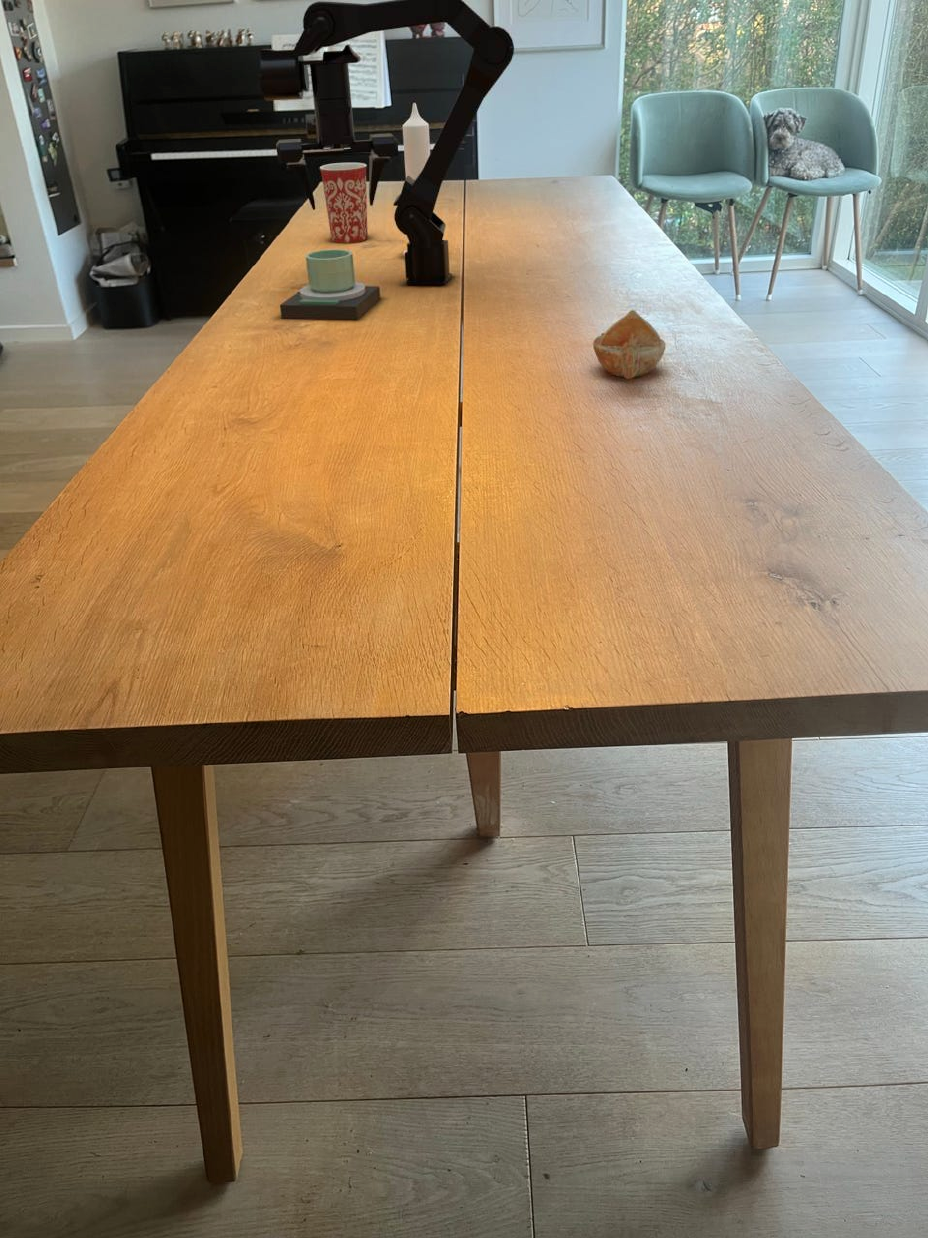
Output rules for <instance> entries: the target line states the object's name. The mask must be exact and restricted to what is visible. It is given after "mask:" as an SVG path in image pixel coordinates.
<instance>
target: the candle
mask: <svg viewBox="0 0 928 1238" xmlns="http://www.w3.org/2000/svg"><path fill="white" fill-rule="evenodd" d="M402 139H403V153H404V156H403V157H404V168H405V169H404V170H405V171H404V172H405V179H406V178H407V176H408V175H409V176H410V177H411V178H412V179H413V180H414V181H415V179H416V178H417V177H418V175H419V174H420V172H421V171H422V170H423V168H424V166H425V164H426V162H427V160H428V158H429V156H430V154H431V145H430V144H431V143H430V142H431V141H430V125H429V123H428V122H427V121H426V120H424V119H423V118H422V117H421V115H420V114H419V110H418V107H417V103H416V102H413V103H412V108H411V114H410V117H409V118H408V119H407V120H406V121H405V122H404V123H403V124H402ZM406 252H407V249H406V250H404V251H403V258H405V256H404V254H405V253H406Z"/></svg>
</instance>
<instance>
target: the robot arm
mask: <svg viewBox="0 0 928 1238" xmlns="http://www.w3.org/2000/svg"><path fill="white" fill-rule="evenodd" d="M441 23H444V24H447V25H448V26H449V27H450V28H451V29H452V30H453V31H455V33H457V34H458V36H460V37H461V38H462V39H463V40H464V41H465V42H466V43H467V44H468V45H469V46H470V47H471V48H472V49H473V52H472V55H471V58H470V61H469V64H468V69H467V71H466V74H465V78H464V81H463V82H464V83H463V85H462V87H461V89H460V91H459V93H458V95H457V97H456V100H455V101H454V104H453V106H452V108H451V110H450V112H449V114H448V116H447V118H446V120H445V122H444V125H443V127H442V129H441V131H440V133H439V135H438V137H437V139H436V141H435V143H434V145H433V148H432V150H430V156H429V158H428V160H427V162H426V164H425V166H424V168H423V170H422V171H421V172H420V174H419V175H418V177H417V178H416V179H415V181H414V180H413V179H412V178H411V177H410V176H409V175H408V176H407V178H406V177H405V180H404V182H403V185H402V188H401V192H400V193H399V194H398V196H396V198H395V200H394V202H393V206H394V207H396V208H395V211H394V214H393V216H394V217H393V219H394V222H395V225H396V228H397V229H398V231H400V232H401V234H403V235H405V236H406V237H407V240H408V242H407V243H406V250H407V252H406V253H405V254H404V253H403V257H404V256H405V257H404V271H405V278H406V282H405V284H406V285H411V286H412V285H414V286H443V285H446V284H447V283H448V282H449V281H450V279H452V278H453V273H451V272H450V254H449V240H448V239H443V238H444V235H445V230H446V225H447V224H446V222H444V221H443V220H442V219H441V218H440V217H439V216H438V215H437V214H436V213H435V212H434V211H435V207H436V203H437V200H438V197H439V194H440V190H441V187H442V184H443V182H444V180H445V177H446V176H447V173H448V172H449V169H450V167H451V165H452V164H453V162H454V159H455V157H456V156H457V154H458V151H459V149H460V147H461V145H462V143H463V141H464V139H465V138H466V135H467V133H468V131H469V129H470V127H471V125H472V124H473V121H474V119H475V118H476V115H477V113H478V111H479V109H480V107H481V105H482V103H483V101H484V99H485V98H486V97H487V95H488V94H489V92H490V91H491V90H492V88H493V87H494V86H495V85H496V83H497V82H498V81H499V79H500V77H501V76H502V75H503V73H504V72H505V70H506V69H507V68H508V66H509V65H510V64H511V62H512V60H513V57H514V54H515V45H514V44H515V43H514V41H513V38H512V36H511V35H510V32H509V31H507V29H505V28H503V27H501V26H499V25H492V26H491V25H490V24H488V22H486V21H485V19H483V18H482V17H481V16H480V15H479V14H478V13H477V12H476V11H474V10H473V9H472V8H471V7H470V6H469V5H468V4H467V3H466V2H465V1H464V0H386V1H379V2H372V3H371V2H370V3H358V2H357V3H355V2H340V1H325V0H324V1H323V0H321V1H315V2H313V3H311V4H310V5H308V7H307V9H306V10H305V12H304V15H303V18H302V24H303V25H302V28H303V31H302V33H301V34H300V36H299V39H298V41H297V42H295V46H294V48H293V49H272V48H265V49H264V48H263V49H261V50H260V51H259V53H260V62H259V63H260V66H259V69H260V70H259V71H260V72H259V73H260V74H259V85H260V89H261V94H262V97H263V99H264V101H289V100H290V101H291V100H303V98H304V92H309V91H310V80H311V88H312V89H311V90H312V98H313V99H312V100H313V108H314V113H309V114H308V113H307V114H304V118H305V127H306V136H307V139H316V141H317V142H313V143H302V138H291V139H289V138H288V139H279V140H278V141H277V142H276V144H275V150H276V157H277V158H276V159H277V164H286V166H287V167H286V168H287V170H294V172H295V174H296V175H297V178H298V179H299V182H301V185H302V187H303V190H304V191H305V194H306V196H307V198H308V201H309V203H310V206H311V208H312V210H313V211H316V202H315V201H316V200H315V196H314V193H313V188H312V184H311V180H310V176H309V171H308V168H307V163H306V160H305V157H306V158H307V157H322V156H323V157H324V156H339V155H352V154H370V155H369V157H368V159H369V160H368V161H369V162H368V163H369V173H368V174H369V175H368V176H369V177H368V178H369V179H368V200H369V206H370V207H373V206H374V201H375V197H376V192H377V189H378V185H379V180H380V177H381V175H382V172H383V170H384V167H385V165H386V164H389V163H391V162H392V160H391V158H392V157H398V156H400V153H399V143H398V139H397V138H396V137H395V136H394V135H393V133H392V132H391V133H374V134H369V139H362V140H356V138H355V127H354V117H353V115H354V114H353V103H352V97H351V96H352V93H351V84H350V83H351V82H350V73H349V72H350V71H349V64H357V63H360V62H361V59H362V58H361V56H360V55H358V54H357V53H356V52H355V51H354V49H352V46H351V45H350V44H346V45H345V46H344V47H343V49H342V50H330V51H327V50H325V51H323V53H322V59H309V60H308V59H305V60H304V57H307V56H310V55H315V54H316V53H318V52H319V51H320V50H321V49H323V48H327V47H332V46H333V47H334V46H336V45H339V44H341V43H344V42H346V41H350V40H353V39H355V38H359V37H361V36H365V35H367V34H369V33H375V32H380V31H381V32H382V31H389V30H396V29H403V28H404V29H405V28H411V27H419V26H425V25H432V24H433V25H434V24H441ZM308 66H309V68H308ZM309 70H310V71H309ZM309 72H310V73H309ZM324 147H329V148H324Z"/></svg>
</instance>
